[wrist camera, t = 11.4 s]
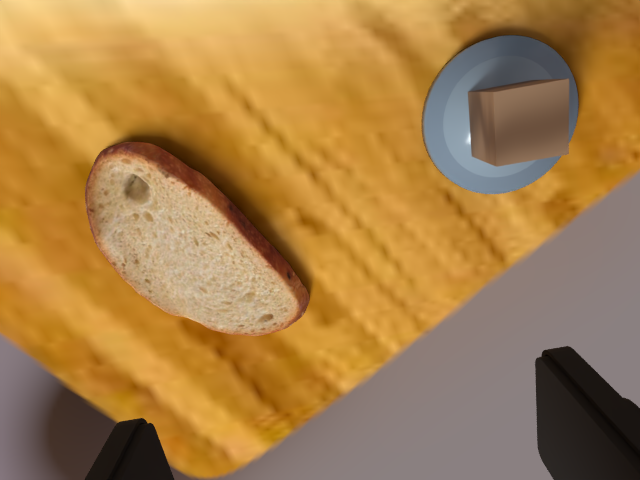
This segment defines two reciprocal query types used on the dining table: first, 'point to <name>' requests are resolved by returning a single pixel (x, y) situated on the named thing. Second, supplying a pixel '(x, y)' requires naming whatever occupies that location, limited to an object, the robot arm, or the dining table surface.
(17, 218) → the dining table surface
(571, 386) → the robot arm
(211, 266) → the bread slice
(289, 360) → the dining table surface
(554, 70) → the dish
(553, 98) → the block
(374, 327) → the dining table surface
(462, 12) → the dining table surface
